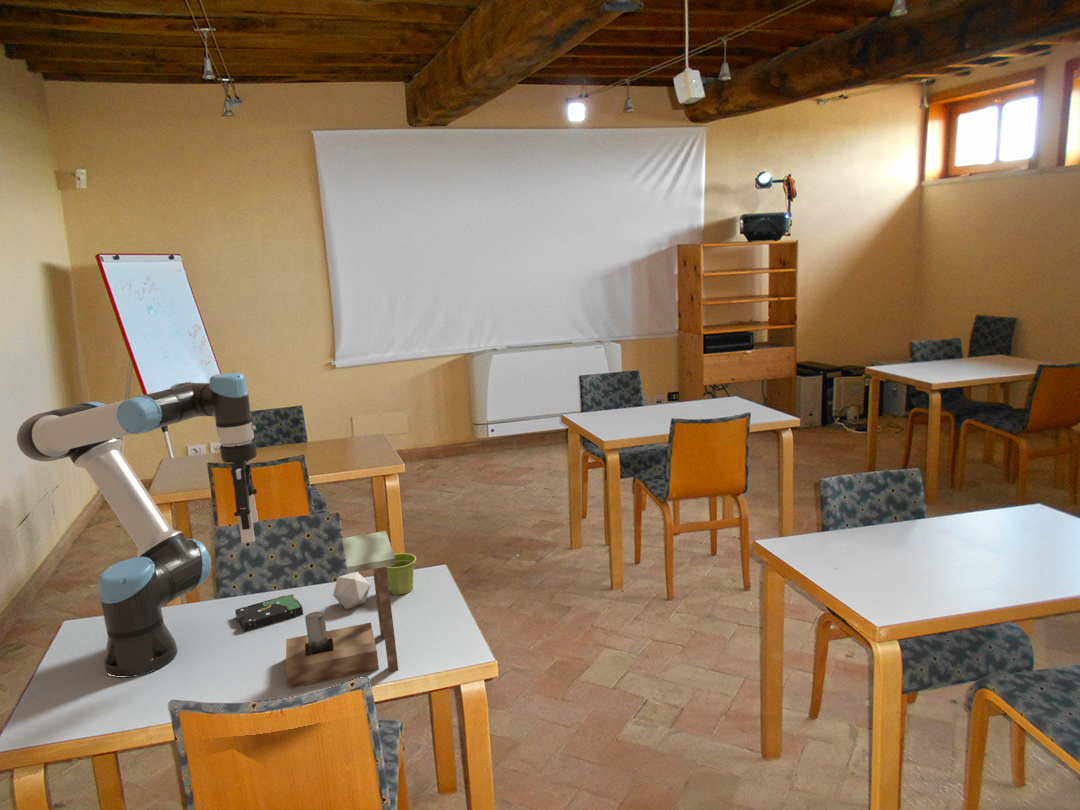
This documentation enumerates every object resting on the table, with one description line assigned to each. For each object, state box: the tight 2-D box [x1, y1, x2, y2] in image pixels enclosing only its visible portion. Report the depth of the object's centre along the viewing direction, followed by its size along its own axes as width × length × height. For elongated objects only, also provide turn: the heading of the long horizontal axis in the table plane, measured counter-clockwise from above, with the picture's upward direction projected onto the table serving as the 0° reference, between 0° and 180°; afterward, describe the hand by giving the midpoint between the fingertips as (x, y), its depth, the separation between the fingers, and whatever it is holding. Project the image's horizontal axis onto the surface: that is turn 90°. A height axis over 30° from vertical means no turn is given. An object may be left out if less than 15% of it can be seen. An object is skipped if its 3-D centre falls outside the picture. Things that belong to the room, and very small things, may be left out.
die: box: [332, 572, 371, 610], centre depth 204 cm, size 8×9×10 cm
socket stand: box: [285, 530, 399, 689], centre depth 174 cm, size 25×18×26 cm
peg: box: [304, 611, 329, 655], centre depth 173 cm, size 4×4×11 cm
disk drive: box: [234, 593, 304, 633], centre depth 201 cm, size 10×3×15 cm
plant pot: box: [387, 552, 417, 596], centre depth 210 cm, size 9×9×9 cm
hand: (250, 531), depth 180 cm, fingers open, 13 cm apart
